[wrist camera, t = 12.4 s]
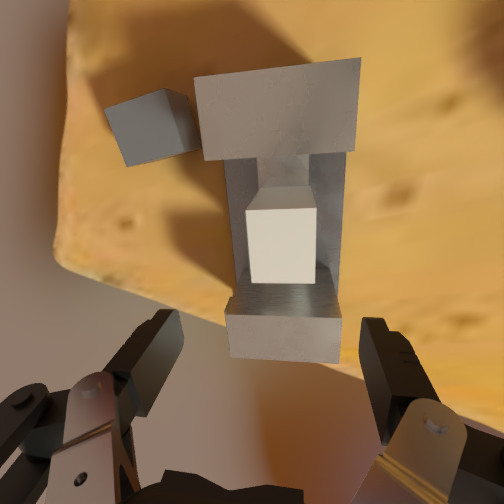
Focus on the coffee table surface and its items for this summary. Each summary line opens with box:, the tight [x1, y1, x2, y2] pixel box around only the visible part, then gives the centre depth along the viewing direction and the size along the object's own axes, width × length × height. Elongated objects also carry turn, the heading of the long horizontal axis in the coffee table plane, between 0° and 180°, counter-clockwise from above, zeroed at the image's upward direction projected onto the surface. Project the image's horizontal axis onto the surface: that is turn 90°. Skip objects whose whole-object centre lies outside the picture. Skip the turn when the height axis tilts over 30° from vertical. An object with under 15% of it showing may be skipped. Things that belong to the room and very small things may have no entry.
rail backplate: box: [194, 57, 361, 364], centre depth 25 cm, size 24×12×10 cm, turn 5°
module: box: [245, 185, 317, 284], centre depth 24 cm, size 6×5×9 cm
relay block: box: [104, 88, 202, 167], centre depth 26 cm, size 5×6×5 cm
